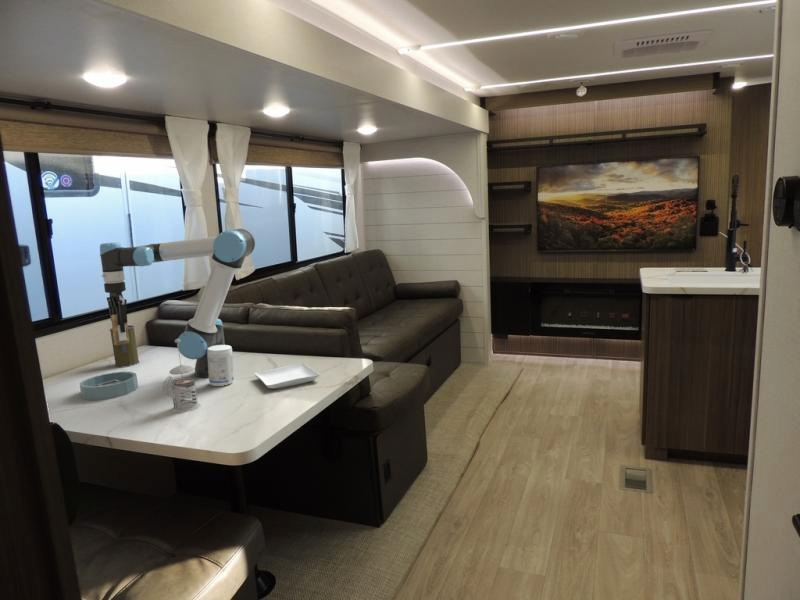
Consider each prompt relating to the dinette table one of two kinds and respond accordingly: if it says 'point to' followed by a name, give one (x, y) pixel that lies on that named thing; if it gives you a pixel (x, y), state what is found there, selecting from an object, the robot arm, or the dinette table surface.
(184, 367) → the french press
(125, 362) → the canister
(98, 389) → the shallow blue tray
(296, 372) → the salad plate
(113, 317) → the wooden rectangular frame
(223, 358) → the supplement tub
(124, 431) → the dinette table surface
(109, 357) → the dinette table surface
